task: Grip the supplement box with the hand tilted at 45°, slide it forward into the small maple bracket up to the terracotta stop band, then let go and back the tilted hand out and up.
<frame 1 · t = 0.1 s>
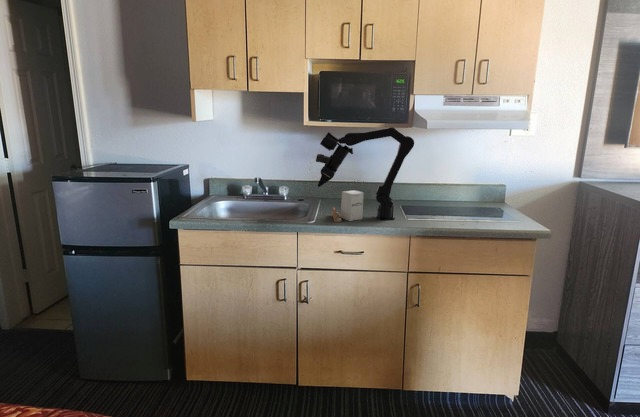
hand: (319, 184, 197), 15 cm above the counter, tool tilted 35°, fingers open, 9 cm apart
supplement box: (351, 219, 196), on the counter
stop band: (343, 218, 196), on the counter
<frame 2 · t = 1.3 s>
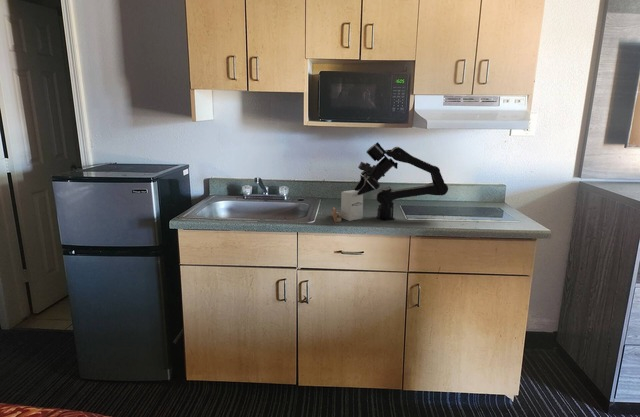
hand: (356, 192, 194), 12 cm above the counter, tool tilted 45°, fingers open, 9 cm apart
supplement box: (351, 218, 196), on the counter, touching gripper
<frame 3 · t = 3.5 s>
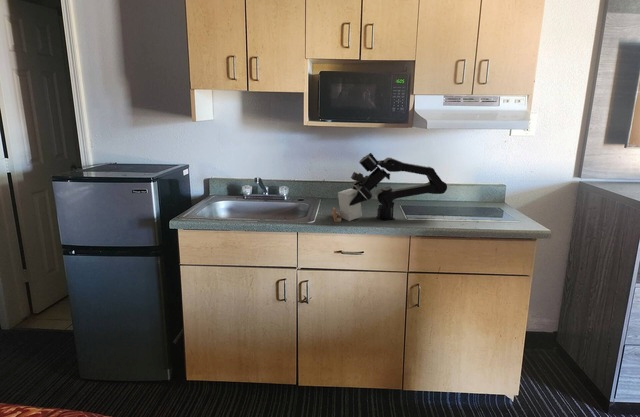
hand: (348, 202, 194), 8 cm above the counter, tool tilted 45°
supplement box: (351, 217, 196), on the counter, touching gripper
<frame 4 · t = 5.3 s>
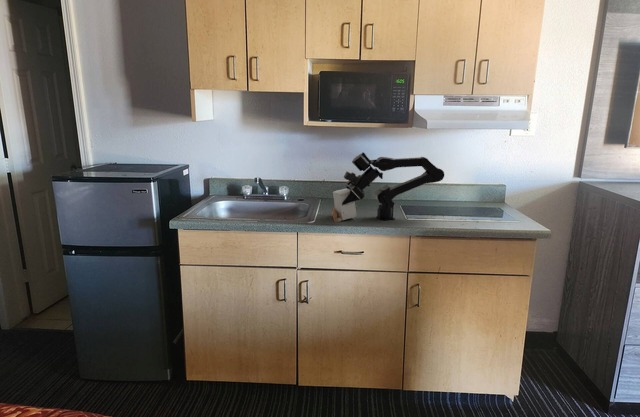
hand: (341, 201, 194), 8 cm above the counter, tool tilted 45°, fingers closed on supplement box, 8 cm apart
supplement box: (346, 217, 196), point 1 cm above the counter, touching gripper
when the fingers open (8 cm above the counter, at t = 5.6 s): supplement box stays where it is, on the counter.
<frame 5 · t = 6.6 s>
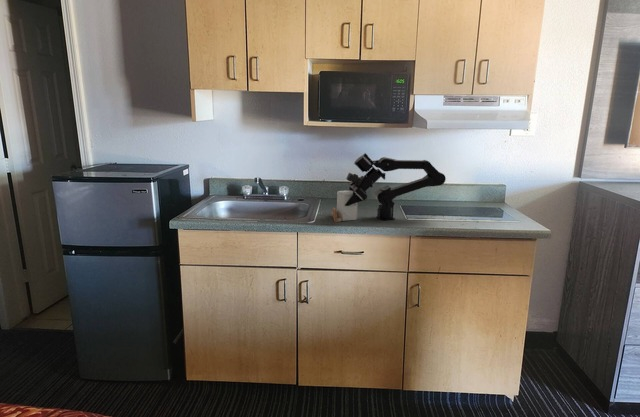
hand: (344, 203, 194), 7 cm above the counter, tool tilted 45°, fingers open, 9 cm apart
supplement box: (346, 219, 196), on the counter
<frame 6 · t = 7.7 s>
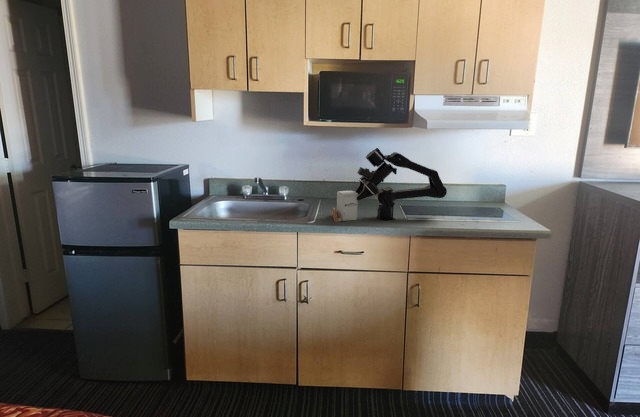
hand: (355, 197, 194), 10 cm above the counter, tool tilted 45°, fingers open, 9 cm apart
nothing on the counter moved.
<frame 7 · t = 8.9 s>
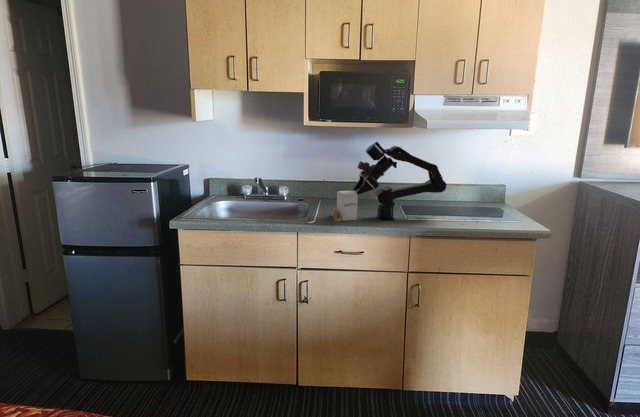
hand: (355, 191, 193), 13 cm above the counter, tool tilted 45°, fingers open, 9 cm apart
nothing on the counter moved.
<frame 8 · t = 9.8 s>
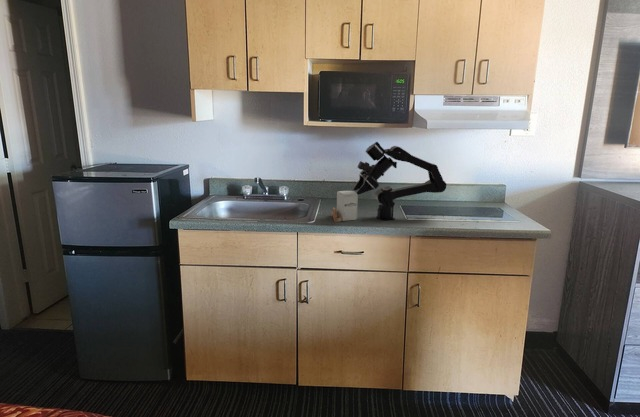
hand: (355, 191, 193), 13 cm above the counter, tool tilted 45°, fingers open, 9 cm apart
nothing on the counter moved.
at the end: supplement box 1.2 cm off-centre on the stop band, point 0.0 cm above the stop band's base; supplement box tilted 0°; the gripper is holding nothing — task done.
